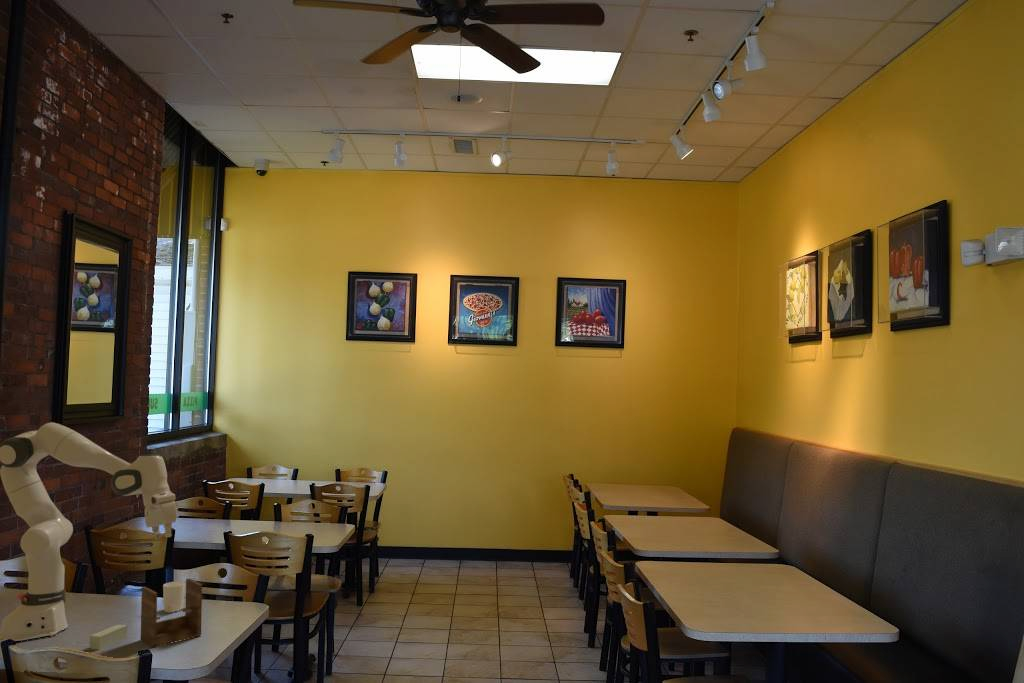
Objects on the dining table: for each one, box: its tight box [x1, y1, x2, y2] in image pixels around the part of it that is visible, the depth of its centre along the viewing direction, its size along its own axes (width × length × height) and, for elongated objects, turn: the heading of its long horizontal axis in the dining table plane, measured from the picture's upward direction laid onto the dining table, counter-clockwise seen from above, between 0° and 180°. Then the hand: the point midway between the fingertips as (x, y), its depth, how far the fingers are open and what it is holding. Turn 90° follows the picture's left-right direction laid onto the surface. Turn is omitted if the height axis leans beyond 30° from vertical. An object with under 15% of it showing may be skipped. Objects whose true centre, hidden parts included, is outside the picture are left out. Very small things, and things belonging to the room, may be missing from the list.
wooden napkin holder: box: [140, 578, 203, 649], centre depth 263 cm, size 16×11×18 cm
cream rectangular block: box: [89, 624, 128, 651], centre depth 258 cm, size 12×4×4 cm, turn 165°
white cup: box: [162, 580, 186, 613], centre depth 294 cm, size 8×8×10 cm
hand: (163, 538), depth 264 cm, fingers open, 8 cm apart
